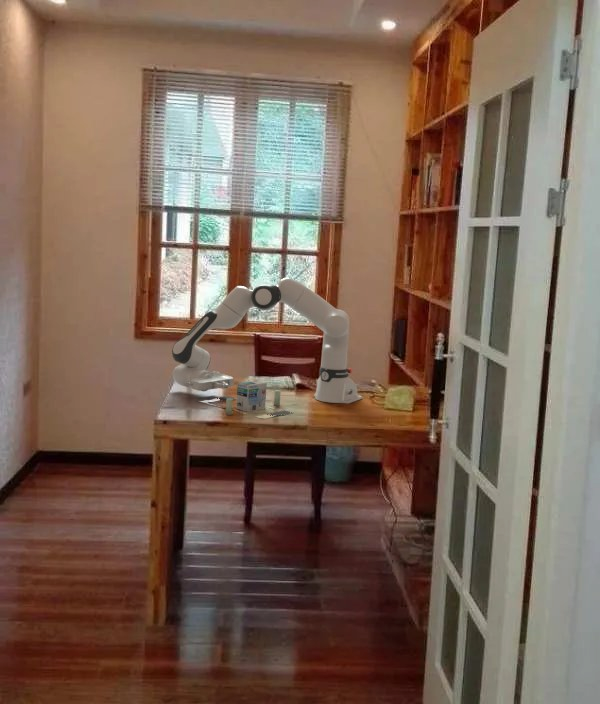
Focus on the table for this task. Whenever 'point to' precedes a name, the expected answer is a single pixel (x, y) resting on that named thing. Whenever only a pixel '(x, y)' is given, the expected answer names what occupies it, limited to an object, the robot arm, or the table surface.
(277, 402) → the trap lane
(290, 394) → the table surface
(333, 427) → the table surface
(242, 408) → the light bulb box
